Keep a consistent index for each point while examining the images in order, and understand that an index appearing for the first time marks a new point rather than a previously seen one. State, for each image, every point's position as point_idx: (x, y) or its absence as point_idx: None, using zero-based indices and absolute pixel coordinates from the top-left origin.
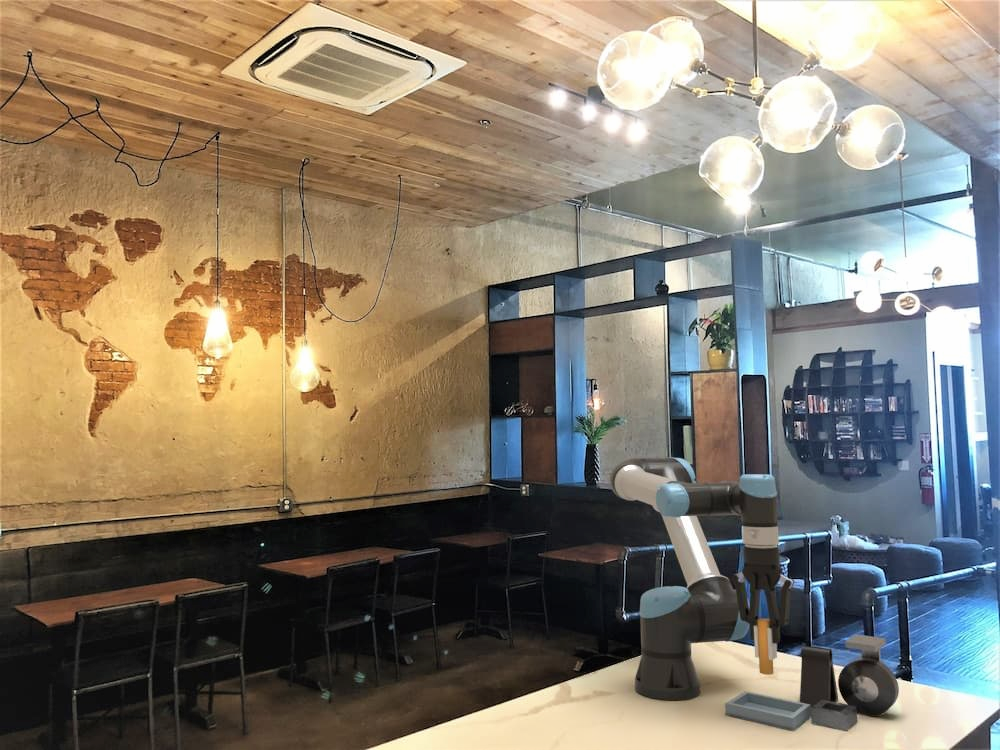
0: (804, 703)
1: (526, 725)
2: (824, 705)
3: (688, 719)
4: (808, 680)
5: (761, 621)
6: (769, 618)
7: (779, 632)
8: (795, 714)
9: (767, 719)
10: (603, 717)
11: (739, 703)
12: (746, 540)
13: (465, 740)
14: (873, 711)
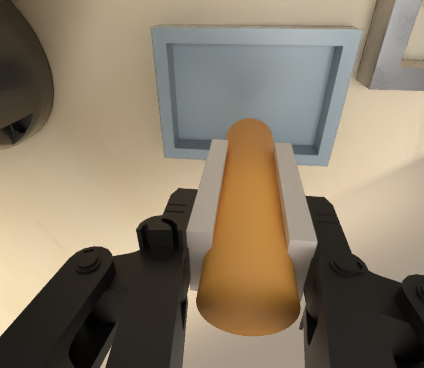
0: (343, 30)
1: (15, 305)
2: (411, 26)
3: (132, 200)
4: None
5: (242, 333)
6: (305, 364)
7: (343, 241)
8: (330, 140)
9: None
10: (42, 252)
11: (173, 99)
12: None
13: None
14: None
